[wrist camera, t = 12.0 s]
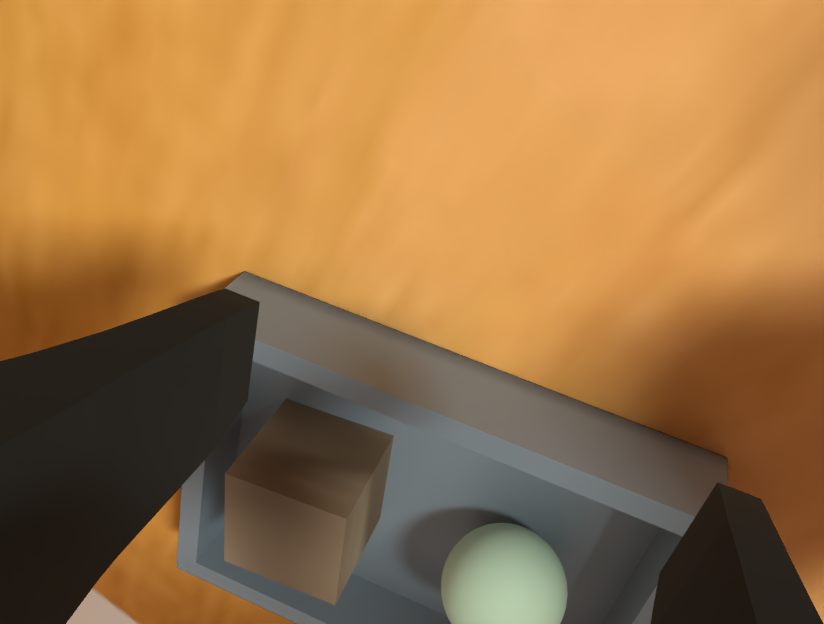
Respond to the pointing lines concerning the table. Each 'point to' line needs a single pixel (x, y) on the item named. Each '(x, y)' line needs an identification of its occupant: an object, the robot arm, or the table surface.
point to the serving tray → (452, 471)
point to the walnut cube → (306, 499)
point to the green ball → (503, 578)
